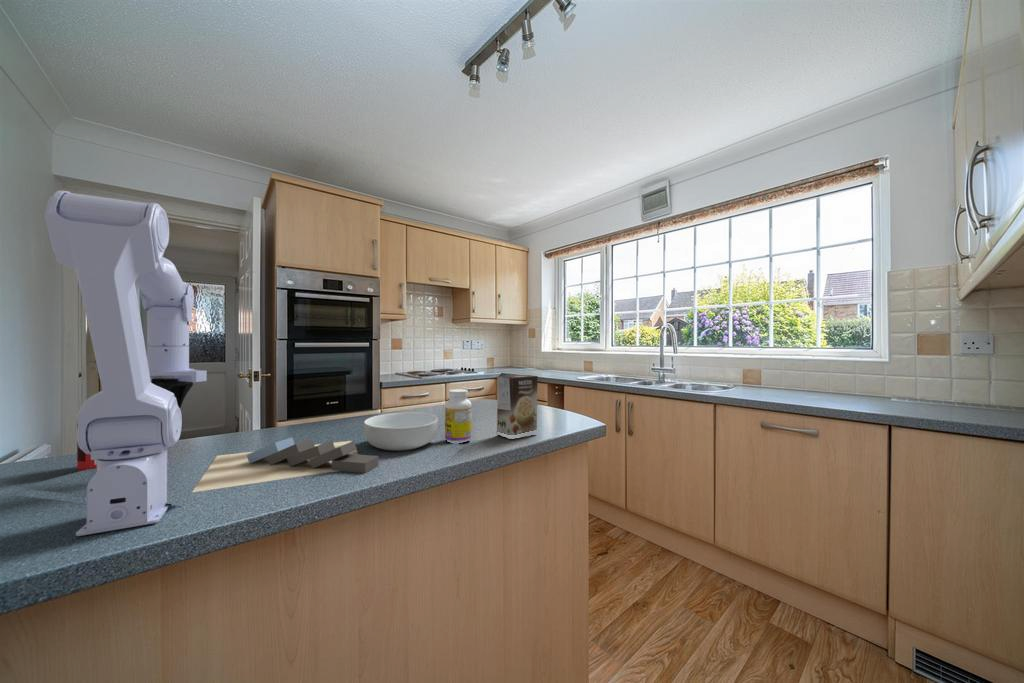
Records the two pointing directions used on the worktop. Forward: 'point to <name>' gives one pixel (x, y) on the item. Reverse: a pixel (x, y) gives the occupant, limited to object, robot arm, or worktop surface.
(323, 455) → the tile
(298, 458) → the tile
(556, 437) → the worktop surface
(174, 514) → the worktop surface
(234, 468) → the board
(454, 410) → the supplement bottle
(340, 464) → the tile
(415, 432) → the cereal bowl
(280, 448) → the tile blue
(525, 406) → the dessert mix box
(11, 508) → the worktop surface
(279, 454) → the tile
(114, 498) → the robot arm
